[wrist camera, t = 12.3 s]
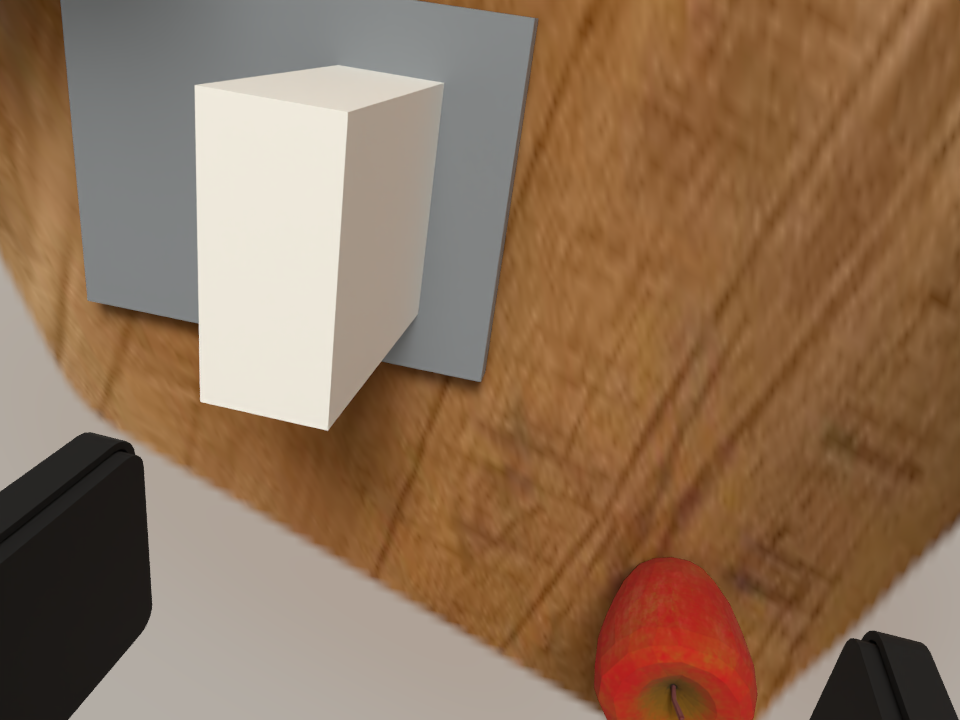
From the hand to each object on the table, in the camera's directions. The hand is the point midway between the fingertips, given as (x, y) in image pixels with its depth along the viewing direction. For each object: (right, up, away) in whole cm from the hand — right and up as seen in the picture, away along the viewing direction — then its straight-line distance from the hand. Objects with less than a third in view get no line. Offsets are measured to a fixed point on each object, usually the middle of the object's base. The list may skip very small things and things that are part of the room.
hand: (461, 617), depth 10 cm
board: (-7, +11, +21) cm, 25 cm away
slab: (-4, +10, +20) cm, 22 cm away
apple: (+9, -7, +26) cm, 28 cm away
